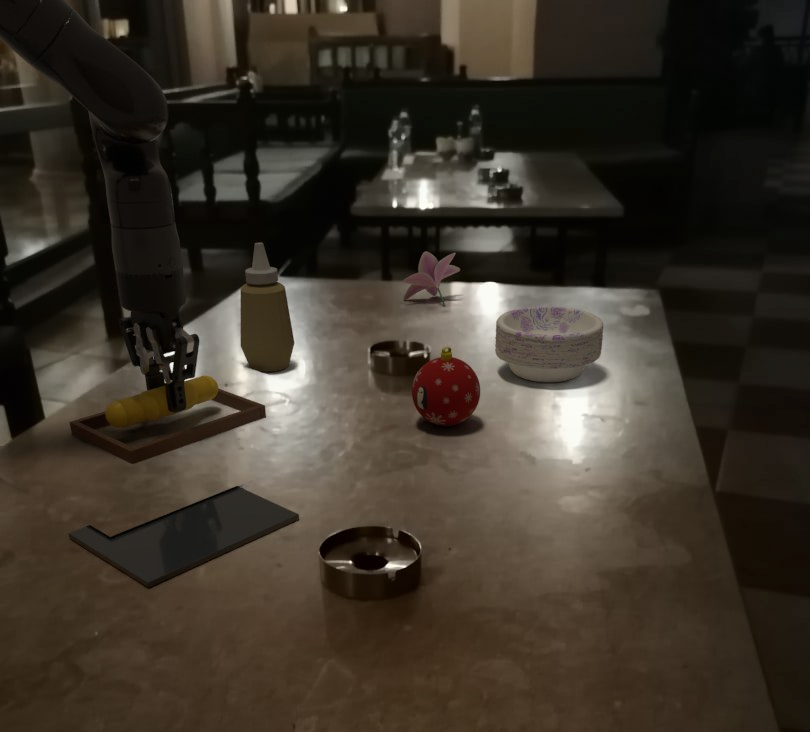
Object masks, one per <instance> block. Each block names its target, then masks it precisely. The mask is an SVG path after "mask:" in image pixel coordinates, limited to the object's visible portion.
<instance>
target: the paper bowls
mask: <svg viewBox="0 0 810 732" xmlns="http://www.w3.org/2000/svg"><path fill="white" fill-rule="evenodd" d="M603 334H604V321H603V320H602V319H601V318H600V317H599V316H597V315H596V314H594V313H591V312H589V311H586V310H582V309H577V308H571V307H562V306H530V307H521V308H516V309H511V310H509V311H506V312H504V313H502V314H501V315H500V316H498V318H497V319H496V322H495V345H494V346H495V348H494V351H495V355H496V357H497V358H498V359H499V360H500V361H504V362H505V363H507V364H508V367H509V369H510V370H511V372H512V373H513V374H515V376H517V377H519V378H522V379H524V380H526V381H531V382H538V383H561V382H566V381H570V380H572V379H575V378H577V377H579V376H580V375H581V374H582V373H583V371H584V370H585V368H586V367H587V365H590V364H592V363H595V362H596V361H597V360H599V359H600V358H601V354H602V347H603V340H604V338H603V337H604V335H603Z"/></svg>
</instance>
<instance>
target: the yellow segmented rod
mask: <svg viewBox="0 0 810 732" xmlns="http://www.w3.org/2000/svg"><path fill="white" fill-rule="evenodd" d="M184 387H185V395H186V408H185V410H182V411H179V412H176V413H173V412H171V411H169V410H168V404H167V398H166V390H165V386H162V387H158V388H155V389H151V390H148V391H147V390H144V391H142V392H141V393H139V394H136V395H132V396H128V397H125V398H121V399H118V400H115V401H112V402H110V403H109V404H108V405H107V406H106V408H105V411H106V412H105V415H106V419H107V421H108V422H109V423H110V424H111V425H110V426H112V427H114V428H116V429H117V428H118V429H120V428H121V429H122V428H126V427H130V426H133V425H135V424H136V425H137V424H139V423H142V422H145V421H155V420H159V419H162V418H166V417H169V416H171V415H175V414H178V413H182V412H185V411H188V410H190V409H192V408H194V406H196V405H197V406H198V405H199V404H202V403H206V402H210V401H213V400H212V399H213V398H215V397H216V395H217V393H218V388H219V384H218V382H217V380H216V379H215V378H214V377H212V376H209V375H201V376H198V377H194V378H191V379H186V380H185V381H184Z"/></svg>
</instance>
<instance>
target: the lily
mask: <svg viewBox="0 0 810 732" xmlns="http://www.w3.org/2000/svg"><path fill="white" fill-rule="evenodd" d="M455 256H456V252H452V253H450V254H447V256H444V257H443V258H442V259H440V260H438V258H437V257H436V256H434V254H432V253H431V252H430V251H427V250H426V251H425V250H424V252H422V255H421V257H420V259H419V261H418V267H417V269H418V270H417V271H418V272H416V273H413V274H411V275H408V276H407V277H406V278H405V277H404V279H403V280H402V283H405V284H409V287H408V288H407V290H406V291H405V294H404V295H403V301H406V300H408V299H409V298H411V297H413V296H414V295H416V294H417V293H420V292H422V291H423V290H425V291H426V292H427V293H428V294H429V295H431V296H433V297H436V296H437V294H439V297H440V300H441V303H442V305H443V307H446V304H445V301H444V298H443V295H442V293H441V290H440V285H441V281H442V280H444V279H446V278H448V277H450V276H452V275H454V274H457V273H459V272H460V271H461V268H460V267H458V266H456V265H453V264H451V262H452V261H453V259H454V257H455Z"/></svg>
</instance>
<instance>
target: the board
mask: <svg viewBox="0 0 810 732" xmlns="http://www.w3.org/2000/svg"><path fill="white" fill-rule="evenodd" d="M298 520H300V514H299V513H297V512H295V511H292V510H291V509H288V508H287V507H284V506H282V505H280V504H278V503H275V502H273V501H271V500H269V499H266V498H264V497H262V496H261V495H258V494H256V493H253V492H252V491H249V490H247V489H245V488H243V487H241V486H238V485H236V486H233V487H230V488H228V489H225V490H223V491H220V492H218V493H215V494H213V495H211V496H208V497H205V498H202V499H200V500H198V501H196V502H193V503H190V504H188V505H185V506H183V507H181V508H178V509H176V510H174V511H171V512H168V513H166V514H163V515H161V516H159V517H156V518H154V519H151V520H149V521H146V522H143V523H141V524H137V525H136V526H133V527H131V528H128V529H126V530H124V531H121V532H119V533H116V534H113V535H112V536H110V535H108V534H106V533H105V532H103V531H101V530H99V529H98V528H96V527H95V526H93V525H91V524H88V525H87V526H84V527H81V528H79V529H75V530H73V531H71V532H69V533H68V538H69V539H70V540H72V541H73V542H75V543H76V544H77V545H79V546H81V547H83V548H84V549H86V550H87V551H89V552H90V553H92V554H94V555H95V556H96V557H98V558H99V559H101V560H103V561H105V562H107V564H109V565H111V566H113V567H114V568H116V569H118V570H119V571H121V572H122V573H124V574H125V575H127V576H129V577H130V578H132V579H133V580H135V581H137V582H138V583H140V584H141V585H142V586H145V587H146V588H148V589H149V588H153V587H154V586H156V585H158V584H160V583H163V582H165V581H167V580H170V579H172V578H174V577H176V576H178V575H180V574H182V573H185V572H187V571H189V570H191V569H193V568H196V567H198V566H200V565H202V564H205V563H207V562H208V561H211V560H213V559H215V558H217V557H220V556H222V555H224V554H226V553H229V552H231V551H233V550H235V549H237V548H239V547H242V546H244V545H246V544H248V543H250V542H252V541H254V540H256V539H259V538H261V537H263V536H265V535H268V534H270V533H271V532H272V533H273V532H274V531H277V530H278V529H281V528H283V527H286V526H287V525H290V524H292V523H294V522H296V521H298Z"/></svg>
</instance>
